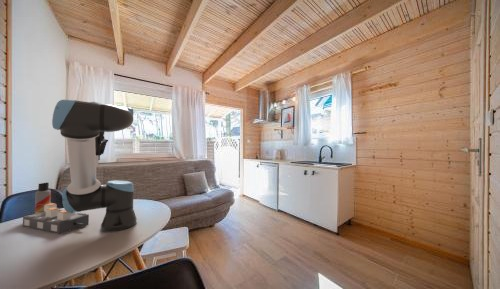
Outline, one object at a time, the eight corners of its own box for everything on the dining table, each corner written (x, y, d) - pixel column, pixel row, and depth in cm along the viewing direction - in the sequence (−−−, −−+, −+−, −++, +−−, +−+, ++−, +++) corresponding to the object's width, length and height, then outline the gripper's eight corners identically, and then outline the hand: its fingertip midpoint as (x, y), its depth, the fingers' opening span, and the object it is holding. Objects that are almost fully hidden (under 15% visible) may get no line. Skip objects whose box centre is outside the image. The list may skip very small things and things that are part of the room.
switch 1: (70, 218, 88) (71, 210, 88) (63, 220, 85) (63, 212, 85) (65, 217, 89) (65, 209, 89) (57, 219, 86) (57, 211, 86)
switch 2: (58, 215, 91) (59, 208, 91) (50, 217, 88) (51, 209, 89) (53, 214, 92) (53, 207, 92) (45, 216, 89) (45, 209, 90)
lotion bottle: (39, 219, 98) (40, 183, 99) (31, 218, 99) (33, 183, 100) (52, 216, 104) (53, 182, 104) (45, 215, 105) (46, 181, 105)
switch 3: (56, 210, 98) (56, 203, 98) (49, 212, 95) (49, 205, 95) (51, 209, 99) (51, 202, 99) (44, 211, 96) (44, 204, 96)
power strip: (96, 225, 93) (97, 214, 93) (67, 236, 81) (68, 224, 81) (53, 217, 101) (54, 208, 101) (21, 226, 90) (22, 216, 90)
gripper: (103, 129, 117) (101, 164, 116) (79, 126, 104) (78, 166, 104) (111, 129, 115) (110, 165, 115) (89, 126, 102) (87, 167, 102)
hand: (95, 165), depth 109 cm, fingers closed
